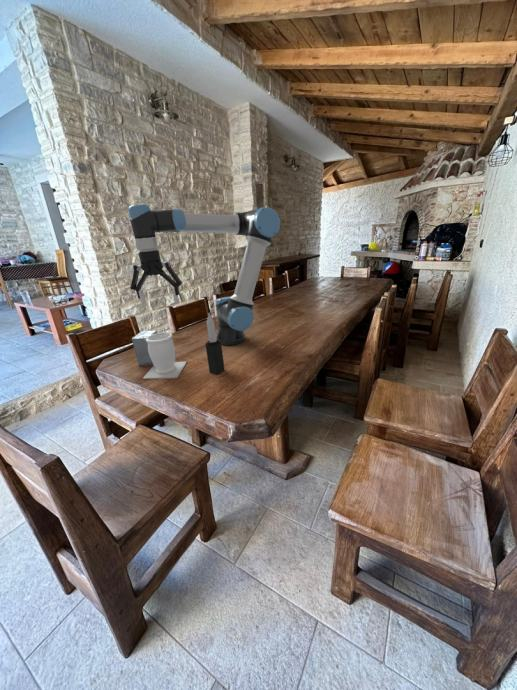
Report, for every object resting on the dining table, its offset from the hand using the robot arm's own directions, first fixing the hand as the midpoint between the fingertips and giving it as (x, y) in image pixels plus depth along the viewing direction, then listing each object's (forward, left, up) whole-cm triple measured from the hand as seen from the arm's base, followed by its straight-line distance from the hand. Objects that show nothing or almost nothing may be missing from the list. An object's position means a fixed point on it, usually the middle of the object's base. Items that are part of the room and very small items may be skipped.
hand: (160, 304), depth 113 cm
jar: (+1, +6, -27) cm, 28 cm away
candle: (-22, +8, -28) cm, 36 cm away
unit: (+12, -5, -27) cm, 30 cm away
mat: (+1, +6, -27) cm, 28 cm away
